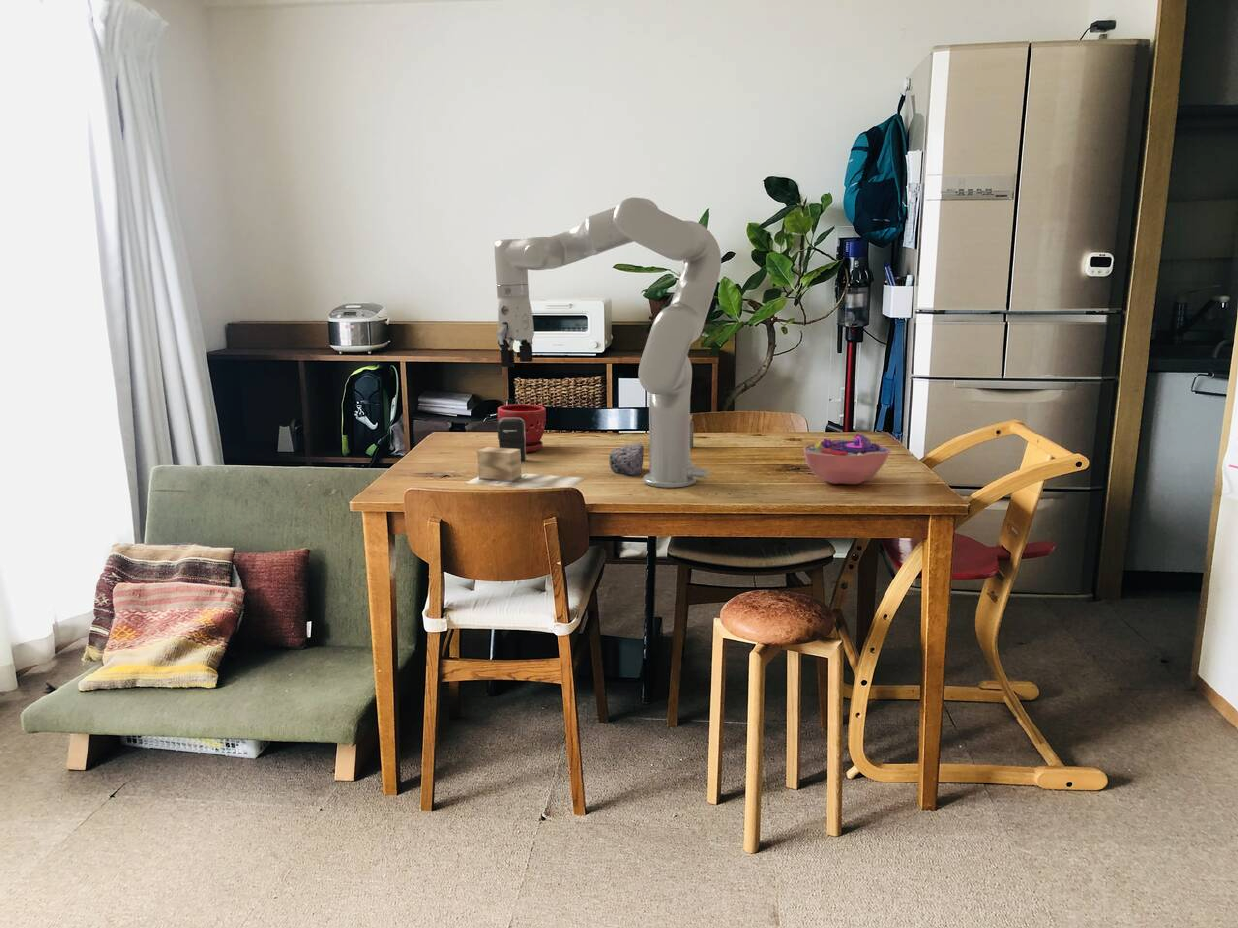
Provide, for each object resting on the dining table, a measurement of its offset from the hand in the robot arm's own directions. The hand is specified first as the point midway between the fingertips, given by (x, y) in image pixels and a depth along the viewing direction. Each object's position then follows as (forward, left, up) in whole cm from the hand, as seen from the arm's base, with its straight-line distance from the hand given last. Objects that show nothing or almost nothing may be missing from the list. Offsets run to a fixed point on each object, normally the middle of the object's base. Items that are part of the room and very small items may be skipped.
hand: (517, 364), depth 228 cm
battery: (+8, -11, -27) cm, 30 cm away
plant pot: (+12, -25, -27) cm, 39 cm away
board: (-5, +7, -27) cm, 29 cm away
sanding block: (+2, +7, -27) cm, 28 cm away
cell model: (-77, -15, -27) cm, 83 cm away
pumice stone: (-25, -9, -27) cm, 38 cm away
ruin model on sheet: (-26, -40, -28) cm, 55 cm away
